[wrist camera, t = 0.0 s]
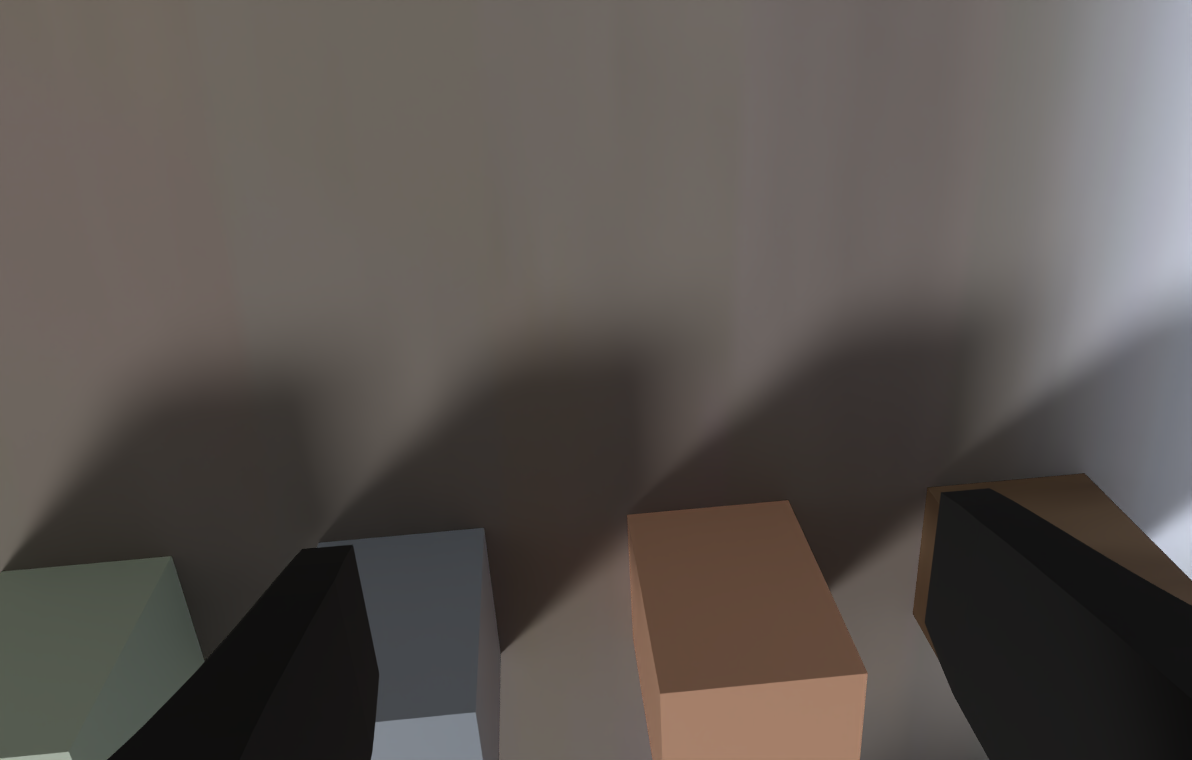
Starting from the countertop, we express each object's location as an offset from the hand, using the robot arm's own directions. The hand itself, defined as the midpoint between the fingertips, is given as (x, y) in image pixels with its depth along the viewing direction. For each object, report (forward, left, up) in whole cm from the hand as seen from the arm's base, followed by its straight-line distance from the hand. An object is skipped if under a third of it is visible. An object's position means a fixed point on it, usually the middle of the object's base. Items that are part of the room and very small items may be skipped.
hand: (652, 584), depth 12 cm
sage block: (-8, +12, -10) cm, 18 cm away
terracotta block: (-8, -3, -10) cm, 13 cm away
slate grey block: (-8, +5, -10) cm, 14 cm away
